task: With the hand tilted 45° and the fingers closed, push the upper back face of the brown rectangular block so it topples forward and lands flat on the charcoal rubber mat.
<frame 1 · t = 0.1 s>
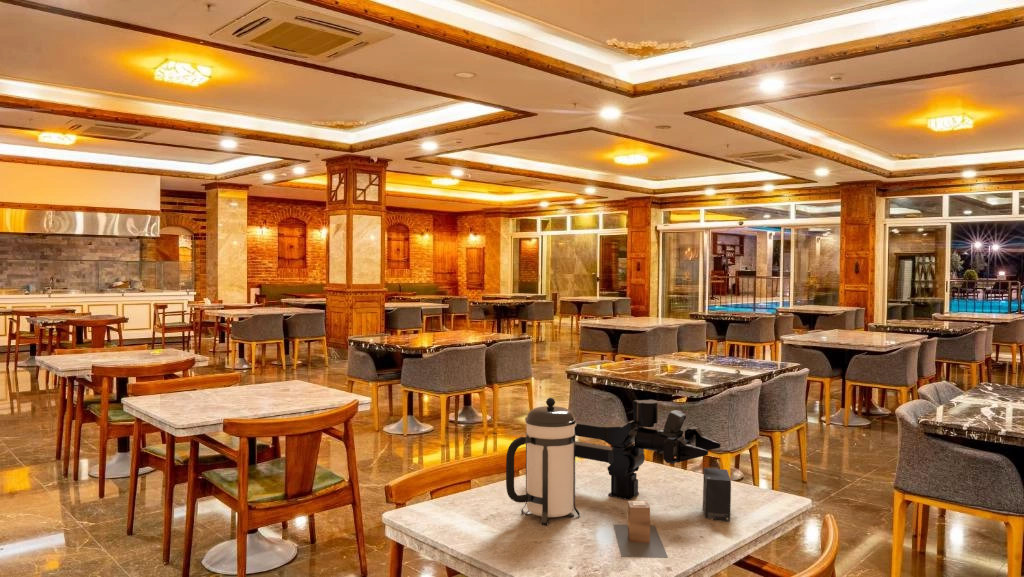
hand: (714, 449, 181), 17 cm above the table, tool horizontal, fingers open, 9 cm apart
coffee press: (546, 518, 178), on the table
brown rectangular block: (638, 538, 163), resting on mat
mat: (638, 542, 162), on the table
small box: (716, 515, 181), on the table
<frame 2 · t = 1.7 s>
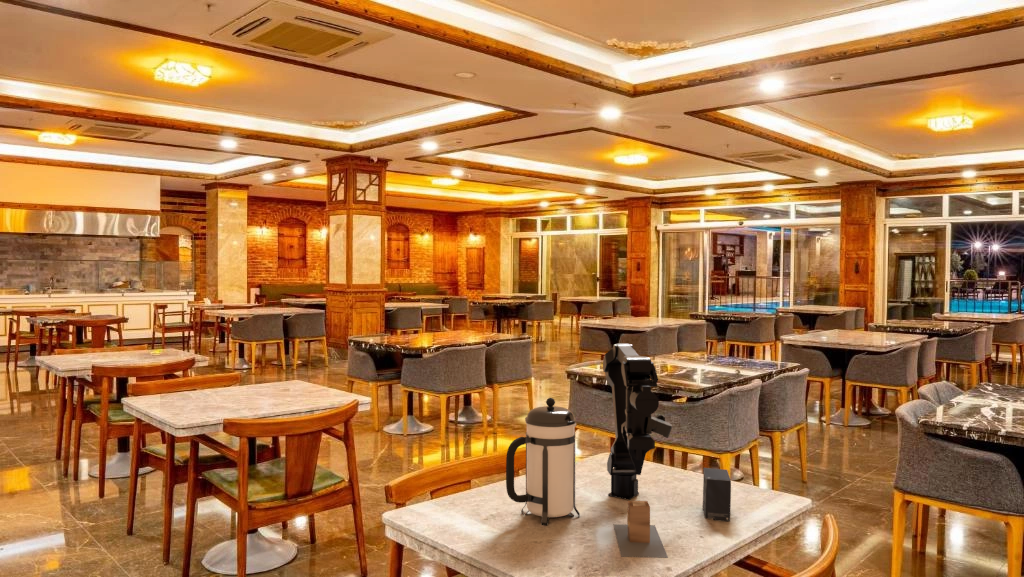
hand: (637, 468, 179), 12 cm above the table, tool pointing down, fingers open, 6 cm apart
nothing on the table moved.
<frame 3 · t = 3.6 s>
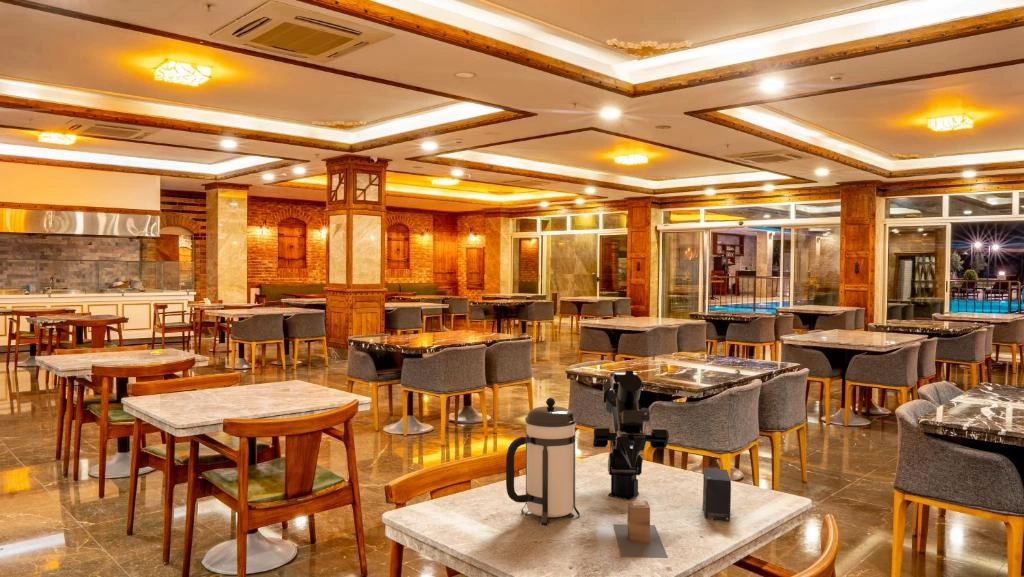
hand: (632, 467, 175), 13 cm above the table, tool tilted 45°, fingers closed
nothing on the table moved.
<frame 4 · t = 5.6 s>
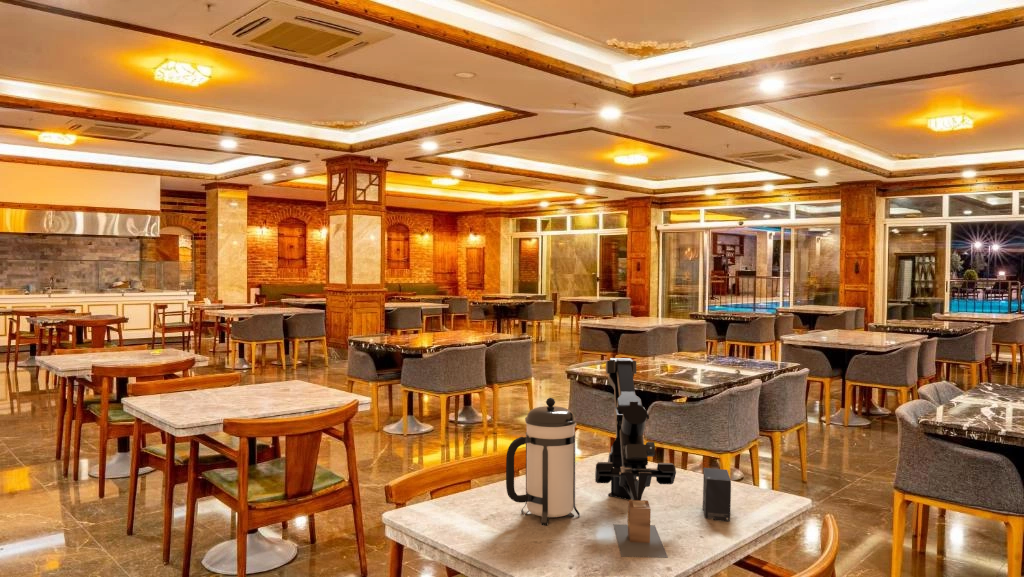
hand: (637, 506, 164), 7 cm above the table, tool tilted 45°, fingers closed, pressing on brown rectangular block
brown rectangular block: (638, 537, 163), point 1 cm above the table, tilted 6°, touching gripper, mat
everything else where it was.
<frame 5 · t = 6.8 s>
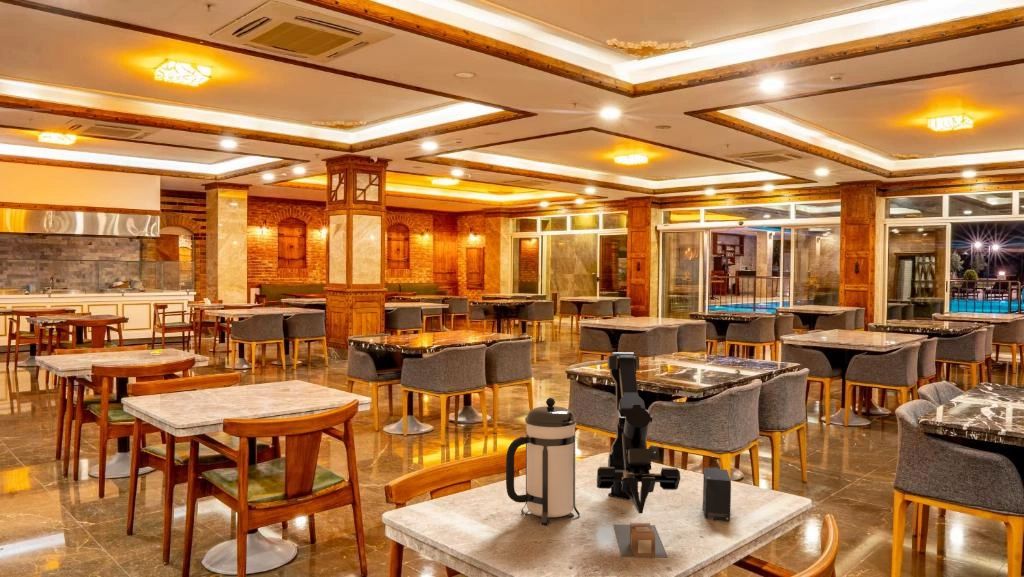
hand: (640, 512, 159), 8 cm above the table, tool tilted 45°, fingers closed
brown rectangular block: (639, 532, 160), point 3 cm above the table, tilted 90°, touching mat
everything else where it was.
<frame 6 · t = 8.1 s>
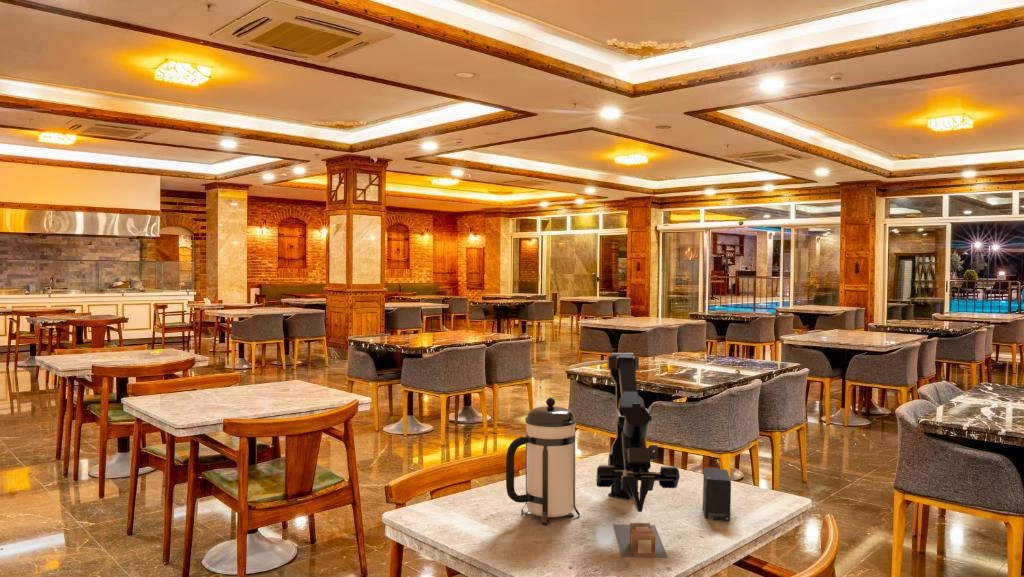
hand: (640, 511, 160), 8 cm above the table, tool tilted 45°, fingers closed
nothing on the table moved.
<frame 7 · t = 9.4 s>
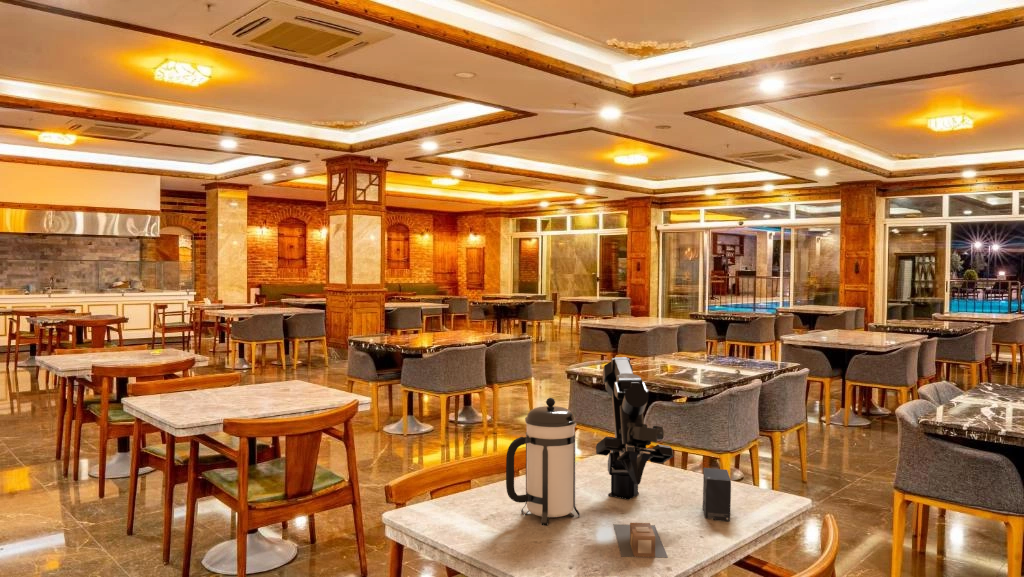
hand: (637, 484, 171), 10 cm above the table, tool tilted 35°, fingers closed
nothing on the table moved.
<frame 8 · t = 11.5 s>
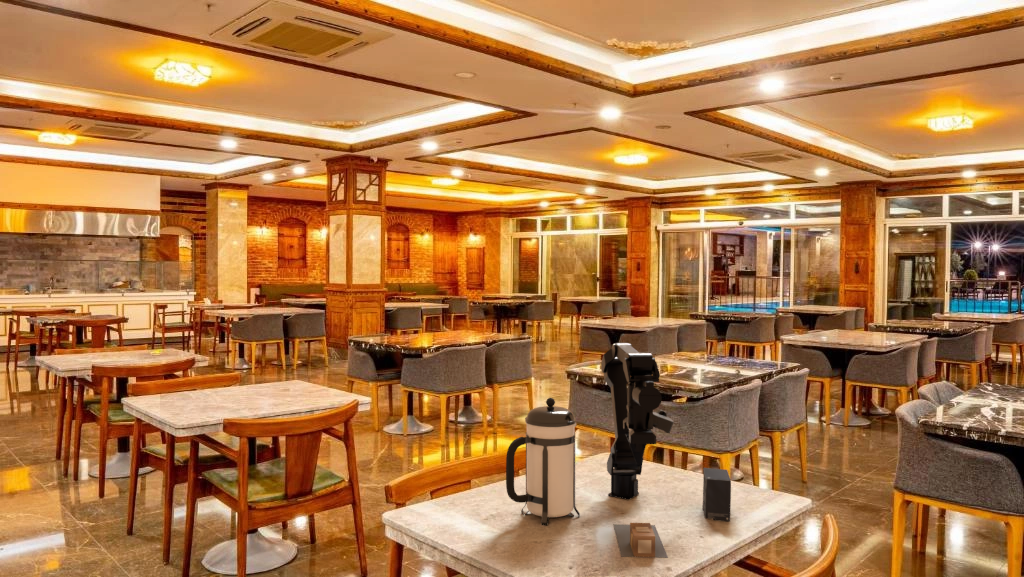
hand: (638, 464, 180), 13 cm above the table, tool pointing down, fingers closed
nothing on the table moved.
at the end: brown rectangular block tilted 90°; brown rectangular block 1.5 cm from the mat (horizontally) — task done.
